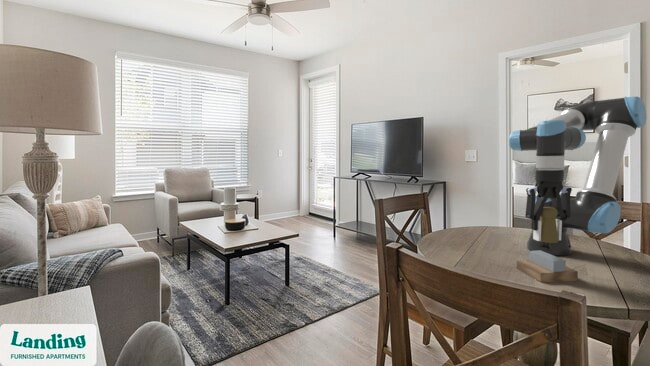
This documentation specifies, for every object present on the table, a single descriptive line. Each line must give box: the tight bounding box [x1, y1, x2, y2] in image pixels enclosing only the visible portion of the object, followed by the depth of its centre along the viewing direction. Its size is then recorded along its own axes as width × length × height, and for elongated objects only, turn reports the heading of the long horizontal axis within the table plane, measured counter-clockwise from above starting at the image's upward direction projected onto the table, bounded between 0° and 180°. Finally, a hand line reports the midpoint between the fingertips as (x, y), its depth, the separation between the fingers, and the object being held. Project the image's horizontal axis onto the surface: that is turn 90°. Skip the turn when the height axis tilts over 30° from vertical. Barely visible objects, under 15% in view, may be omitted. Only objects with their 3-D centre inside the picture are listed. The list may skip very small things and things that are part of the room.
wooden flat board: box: [516, 259, 579, 283], centre depth 109 cm, size 12×12×4 cm
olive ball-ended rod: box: [540, 207, 558, 243], centre depth 107 cm, size 6×6×11 cm
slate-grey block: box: [528, 250, 567, 272], centre depth 109 cm, size 4×11×4 cm, turn 4°
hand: (546, 239), depth 108 cm, fingers closed on olive ball-ended rod, 6 cm apart
